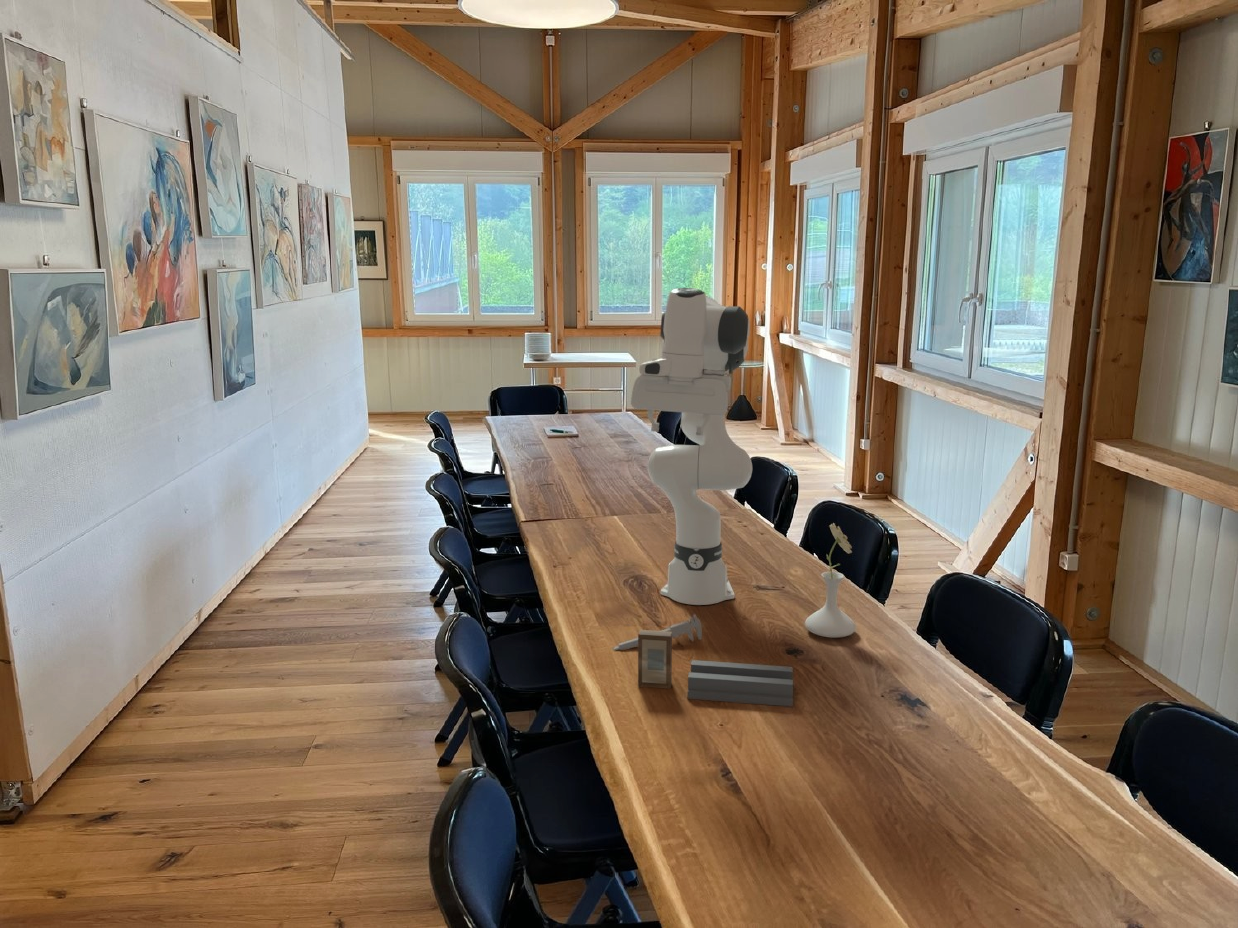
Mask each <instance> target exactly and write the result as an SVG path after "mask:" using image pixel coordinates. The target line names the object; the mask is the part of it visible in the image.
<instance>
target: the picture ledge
mask: <svg viewBox="0 0 1238 928" xmlns="http://www.w3.org/2000/svg"><path fill="white" fill-rule="evenodd" d="M793 669H794V668H793V666H785V665H784V666H782V665H781V666H780V665H769V664H768V665H765V664H755V663H754V664H753V663H740V662H739V663H738V662H725V661H723V662H722V661H711V660H696V659H692V660H691V663H690V671H689V672H688V676H687V692H686V693H687V697H686V698H687V699H689V700H701V701H713V702H728V703H742V704H751V705H752V704H754V705H755V704H756V705H757V704H758V705H765V706H766V705H768V706H769V705H770V706H780V707H793V706H794V705H793V703H794V701H793V700H794V698H793V697H794V680H793V675H794V674H793V673H794V672H793V671H794V670H793Z"/></svg>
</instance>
